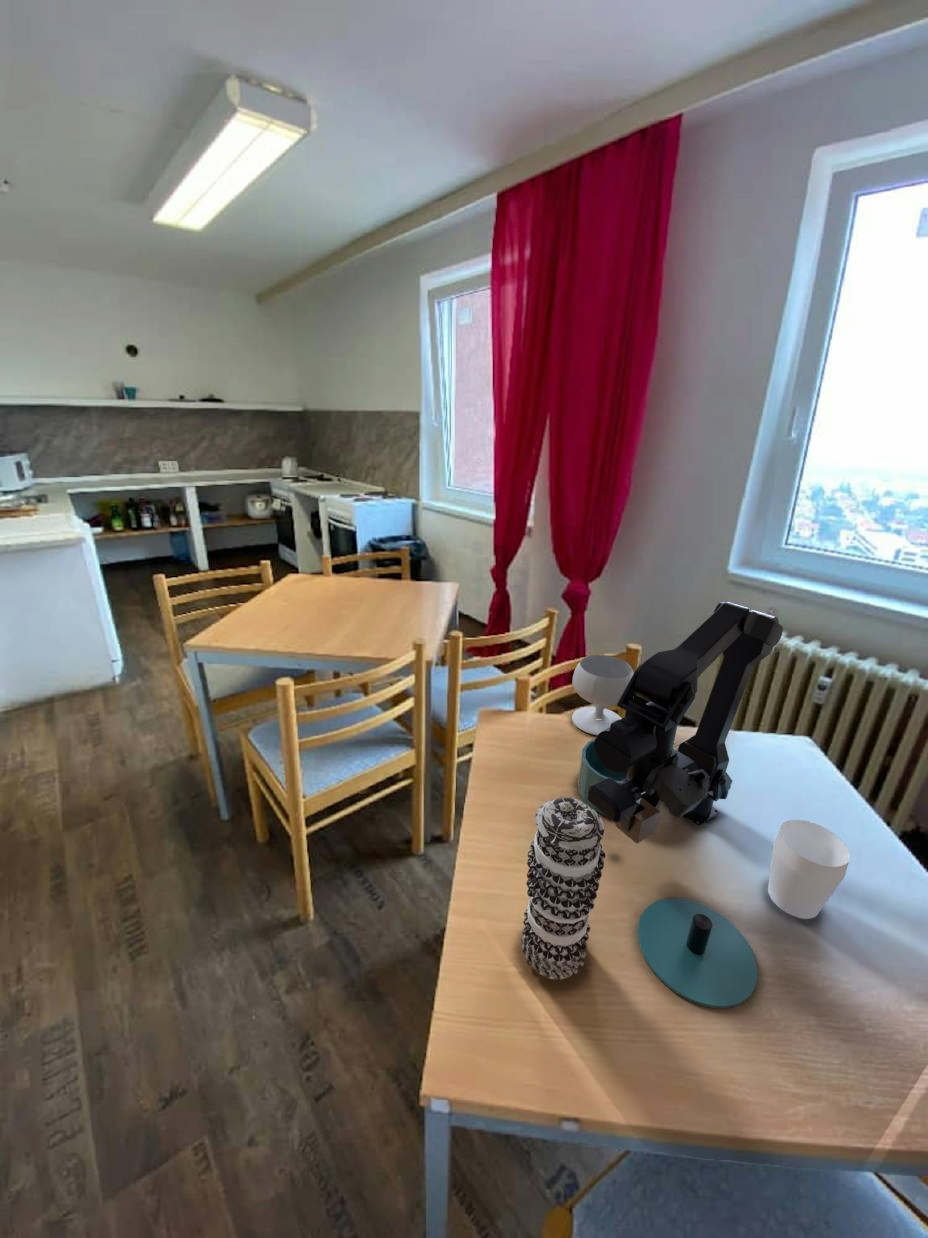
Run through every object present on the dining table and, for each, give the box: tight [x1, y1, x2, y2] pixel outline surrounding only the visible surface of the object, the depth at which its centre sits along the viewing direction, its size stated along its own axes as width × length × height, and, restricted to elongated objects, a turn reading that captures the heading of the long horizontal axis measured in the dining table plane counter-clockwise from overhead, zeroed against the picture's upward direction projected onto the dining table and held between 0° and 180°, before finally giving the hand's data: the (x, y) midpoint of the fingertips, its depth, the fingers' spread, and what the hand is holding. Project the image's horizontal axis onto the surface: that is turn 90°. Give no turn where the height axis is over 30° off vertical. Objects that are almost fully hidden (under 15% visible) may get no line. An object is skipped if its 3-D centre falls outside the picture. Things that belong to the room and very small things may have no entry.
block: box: [614, 798, 661, 845], centre depth 82 cm, size 4×4×4 cm
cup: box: [767, 819, 851, 920], centre depth 77 cm, size 9×9×12 cm
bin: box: [577, 738, 627, 817], centre depth 99 cm, size 14×14×8 cm
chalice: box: [571, 654, 635, 736], centre depth 120 cm, size 14×14×15 cm
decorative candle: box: [521, 796, 606, 981], centre depth 66 cm, size 9×9×25 cm
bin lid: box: [637, 897, 759, 1009], centre depth 70 cm, size 15×15×6 cm
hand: (636, 824), depth 82 cm, fingers closed on block, 4 cm apart
